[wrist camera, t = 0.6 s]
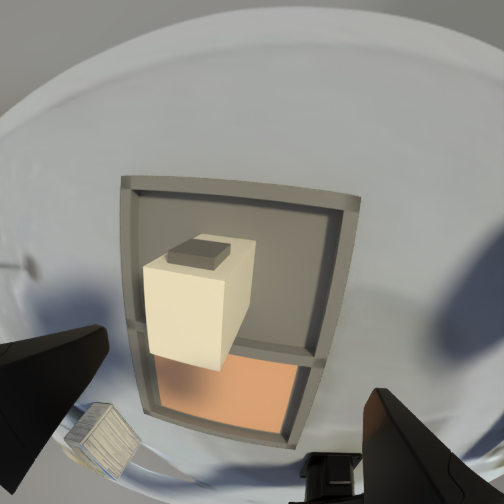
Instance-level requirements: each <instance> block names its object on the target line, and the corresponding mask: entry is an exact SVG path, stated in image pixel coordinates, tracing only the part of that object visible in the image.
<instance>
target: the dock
mask: <svg viewBox="0 0 504 504" xmlns="http://www.w3.org/2000/svg"><path fill="white" fill-rule="evenodd" d="M360 203H361V197H359V196H354V195H348V194H342V193H336V192H329V191H322V190H315V189H308V188H301V187H293V186H284V185H276V184H266V183H257V182H246V181H235V180H222V179H208V178H191V177H170V176H121V196H120V244H121V267H122V282H123V294H124V304H125V313H126V321H127V329H128V336H129V342H130V349H131V355H132V360H133V366H134V371H135V376H136V381H137V386H138V390H139V395H140V399H141V403H142V407H143V411H144V414H147V415H150V416H152V417H155V418H158V419H161V420H163V421H166V422H169V423H172V424H175V425H179V426H182V427H185V428H188V429H192V430H195V431H199V432H202V433H206V434H210V435H214V436H218V437H222V438H227V439H231V440H236V441H241V442H246V443H252V444H257V445H263V446H270V447H277V448H285V449H294V450H295V448H296V446H297V443H298V441H299V438H300V436H301V433H302V431H303V428H304V426H305V423H306V420H307V418H308V415H309V412H310V409H311V407H312V404H313V401H314V398H315V395H316V392H317V389H318V386H319V383H320V380H321V377H322V374H323V370H324V367H325V364H326V361H327V357H328V354H329V350H330V347H331V343H332V340H333V336H334V332H335V328H336V325H337V321H338V317H339V313H340V309H341V305H342V300H343V296H344V292H345V287H346V283H347V278H348V273H349V268H350V263H351V258H352V253H353V247H354V241H355V236H356V230H357V223H358V217H359V210H360ZM200 234H207V235H215V236H223V237H230V238H238V239H246V240H253V241H256V246H255V256H254V266H253V276H252V285H251V295H250V305H249V308H248V310H247V312H246V315H245V317H244V319H243V321H242V324H241V326H240V328H239V330H238V333H237V335H236V337H235V339H234V342H233V344H232V346H231V348H230V351H229V353H228V355H227V357H226V360H225V362H224V364H223V366H222V368H221V371H220V372H219V371H215V370H210V369H206V368H202V367H198V366H194V365H190V364H186V363H183V362H179V361H175V360H172V359H168V358H165V357H161V356H158V355H155V354H152V353H150V350H149V341H148V332H147V322H146V310H145V296H144V277H143V266H145V265H147V264H148V263H150V262H152V261H154V260H155V259H157V258H159V257H161V256H162V255H164V254H166V253H167V251H169V250H170V249H172V248H174V247H176V246H178V245H180V244H181V243H183V242H185V241H187V240H189V239H191V238H192V239H193V238H195V237H197V236H198V235H200Z"/></svg>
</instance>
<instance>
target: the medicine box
mask: <svg viewBox="0 0 504 504" xmlns="http://www.w3.org/2000/svg"><path fill="white" fill-rule="evenodd" d="M64 441H65V442H66V443H67V444H68V445H69V446H70V447H71V448H72V450H73V451H74V452H75V453H76V454H77V455H78V456H79V457H80V458H81V459H82V460H83V461H84V462H85V463H86V464H87V465H88V466H89V467H90V468H91V469H93V470H94V471H95V472H96V473H97V474H99V475H101V476H103V477H106V478H109V479H112V480H118V479H119V477H120V476H121V474H122V472H123V471H124V469H125V468H126V466H127V464H128V463H129V461H130V459H131V458H132V456H133V455H134V453H135V451H136V450H137V448H138V447H139V445H140V443H141V442H142V441H141V440H140V439H139V438H138V436H137V435H136V434H135V433H134V432H133V431H132V429H131V428H130V427H129V426H128V425H127V423H126V422H125V421H124V420H123V418H122V417H121V416H120V415H119V413H118V412H117V411H116V409H115V408H114V407H113V405H112V404H102V403H93V404H92V405H91V407H90V408H89V409H88V410H87V411H86V412H85V414H84V415H83V416H82V417H81V418H80V419H79V421H78V422H77V423H76V424H75V425H74V426H73V428H72V429H71V430H70V431H69V432H68V433H67V435H66V436H65V437H64Z"/></svg>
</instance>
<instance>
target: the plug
mask: <svg viewBox="0 0 504 504" xmlns="http://www.w3.org/2000/svg"><path fill="white" fill-rule="evenodd" d="M255 246H256V241H253V240H246V239H238V238H230V237H223V236H215V235H207V234H200V235H198V236H197V237H195V238H193V239H192V238H191V239H189V240H187V241H185V242H183V243H181V244H180V245H178V246H176V247H174V248H172V249H170V250H169V251H167V253H166V254H164V255H162V256H161V257H159V258H157V259H155V260H154V261H152V262H150V263H148V264H147V265H145V266H143V277H144V296H145V310H146V322H147V332H148V341H149V350H150V353H152V354H155V355H158V356H161V357H165V358H168V359H172V360H175V361H179V362H183V363H186V364H190V365H194V366H198V367H202V368H206V369H210V370H215V371H219V372H220V371H221V368H222V366H223V364H224V362H225V360H226V357H227V355H228V353H229V351H230V348H231V346H232V344H233V342H234V339H235V337H236V335H237V333H238V330H239V328H240V326H241V324H242V321H243V319H244V317H245V315H246V312H247V310H248V308H249V305H250V295H251V285H252V276H253V266H254V256H255Z"/></svg>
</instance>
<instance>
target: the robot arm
mask: <svg viewBox="0 0 504 504" xmlns="http://www.w3.org/2000/svg"><path fill="white" fill-rule="evenodd" d="M108 352H109V340H108V334H107V330H106V328H105V327H103V326H100V325H97V324H94V325H90V326H86V327H81V328H77V329H72V330H68V331H63V332H59V333H54V334H50V335H45V336H40V337H35V338H30V339H25V340H20V341H15V342H10V343H5V344H0V485H1V486H2V487H3V488H4V489H5V490H7V491H8V492H9V493H10V494H11V495H13V494H14V493H15V491H16V489H17V488H18V486H19V485H20V483H21V481H22V480H23V478H24V477H25V475H26V473H27V472H28V470H29V469H30V467H31V466H32V464H33V463H34V461H35V459H36V458H37V456H38V455H39V453H40V452H41V450H42V449H43V447H44V446H45V444H46V443H47V441H48V440H49V439H50V437H51V436H52V434H53V433H54V431H55V430H56V429H57V427H58V426H59V424H60V423H61V422H62V420H63V419H64V417H65V416H66V415H67V413H68V412H69V410H70V409H71V408H72V406H73V405H74V404H75V402H76V401H77V400H78V398H79V397H80V395H81V394H82V393H83V391H84V390H85V389H86V387H87V386H88V385H89V383H90V382H91V380H92V379H93V377H94V375H95V374H96V372H97V370H98V369H99V367H100V365H101V364H102V362H103V360H104V359H105V357H106V356H107V354H108ZM362 458H363V477H364V493H362V494H359V495H355V493H354V473H353V470H354V469H355V467H356V466H357V465H358V464H359V462H360V461H361V460H362ZM300 478H306V489H305V500H304V502H289V503H288V504H504V494H503V493H501V492H500V491H498V490H497V489H496V488H494V487H493V486H492V485H490V484H489V483H488V482H486V481H485V480H484V479H483V478H481V477H480V476H479V475H477V474H476V473H475V472H474V471H472V470H471V469H470V468H469V467H468V466H467V465H465V464H464V463H463V462H462V461H461V460H460V459H459V458H458V457H457V456H456V455H455V454H454V453H453V452H451V450H450V449H449V448H447V447H446V446H445V445H444V444H443V443H442V442H441V441H440V440H439V439H438V438H437V437H436V436H435V435H434V434H433V433H432V432H431V431H430V430H429V429H428V428H427V427H426V426H425V425H424V424H423V423H422V422H421V421H420V420H419V419H418V418H417V417H416V416H415V415H414V414H413V413H412V412H411V411H410V410H409V409H408V408H406V407H405V406H404V405H403V404H402V403H401V402H400V401H399V400H398V399H397V398H396V397H395V396H394V395H393V394H392V393H391V392H390V391H389V390H388V389H386V388H375V389H374V390H373V391H372V393H371V395H370V397H369V399H368V401H367V402H366V404H365V407H364V411H363V441H362V454H329V453H311V454H310V456H309V458H308V460H307V461H306V463H305V465H304V467H303V469H302V471H301V473H300Z"/></svg>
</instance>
